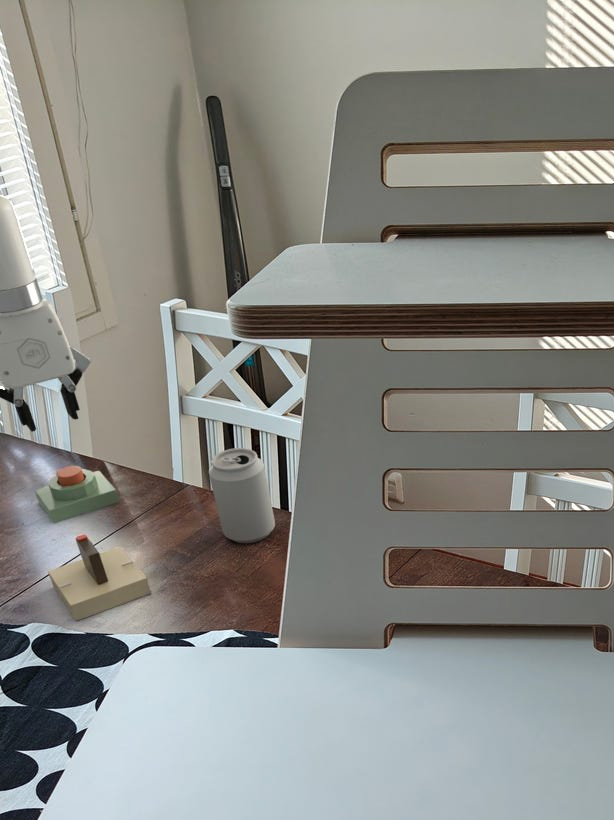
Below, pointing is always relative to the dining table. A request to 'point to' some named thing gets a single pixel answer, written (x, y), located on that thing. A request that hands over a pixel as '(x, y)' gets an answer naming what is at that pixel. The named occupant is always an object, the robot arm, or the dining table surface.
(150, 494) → the dining table surface
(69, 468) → the button
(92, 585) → the plate
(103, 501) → the button base
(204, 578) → the dining table surface
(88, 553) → the thumbturn
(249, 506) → the can
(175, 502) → the dining table surface
